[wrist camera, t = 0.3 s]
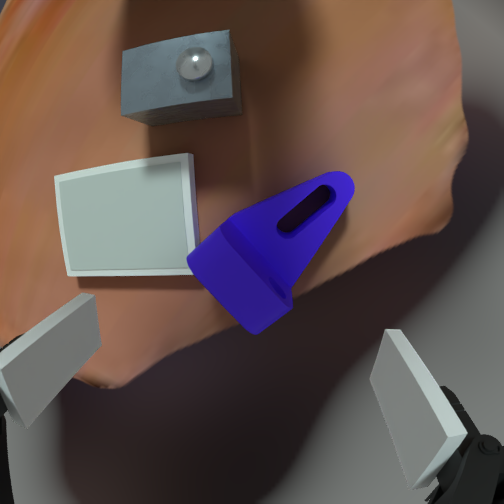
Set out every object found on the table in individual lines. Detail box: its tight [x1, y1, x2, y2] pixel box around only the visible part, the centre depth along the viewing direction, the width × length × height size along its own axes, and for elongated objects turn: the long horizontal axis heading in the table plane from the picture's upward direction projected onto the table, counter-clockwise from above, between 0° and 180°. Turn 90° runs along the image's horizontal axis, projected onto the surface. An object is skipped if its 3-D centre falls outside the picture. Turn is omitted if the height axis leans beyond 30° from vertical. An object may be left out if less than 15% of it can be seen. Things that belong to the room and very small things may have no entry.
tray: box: [54, 153, 200, 276], centre depth 39 cm, size 15×21×3 cm
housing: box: [121, 30, 242, 126], centre depth 30 cm, size 8×13×10 cm, turn 93°
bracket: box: [186, 171, 354, 335], centre depth 33 cm, size 18×11×12 cm, turn 131°
